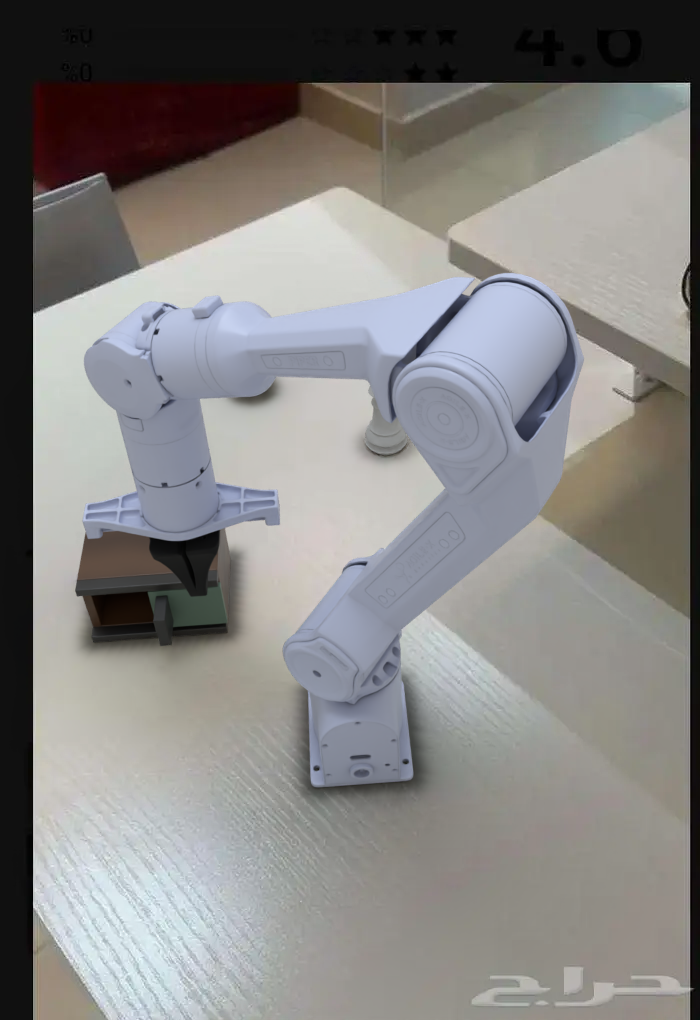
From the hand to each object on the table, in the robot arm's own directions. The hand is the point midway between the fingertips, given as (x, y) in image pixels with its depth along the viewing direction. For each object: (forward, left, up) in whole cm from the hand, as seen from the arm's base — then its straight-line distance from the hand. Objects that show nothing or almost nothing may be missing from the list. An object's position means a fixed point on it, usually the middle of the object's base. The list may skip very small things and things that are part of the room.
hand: (199, 587), depth 85 cm
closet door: (+2, +2, -8) cm, 9 cm away
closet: (+8, +5, -9) cm, 13 cm away
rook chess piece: (+27, -17, -10) cm, 33 cm away
